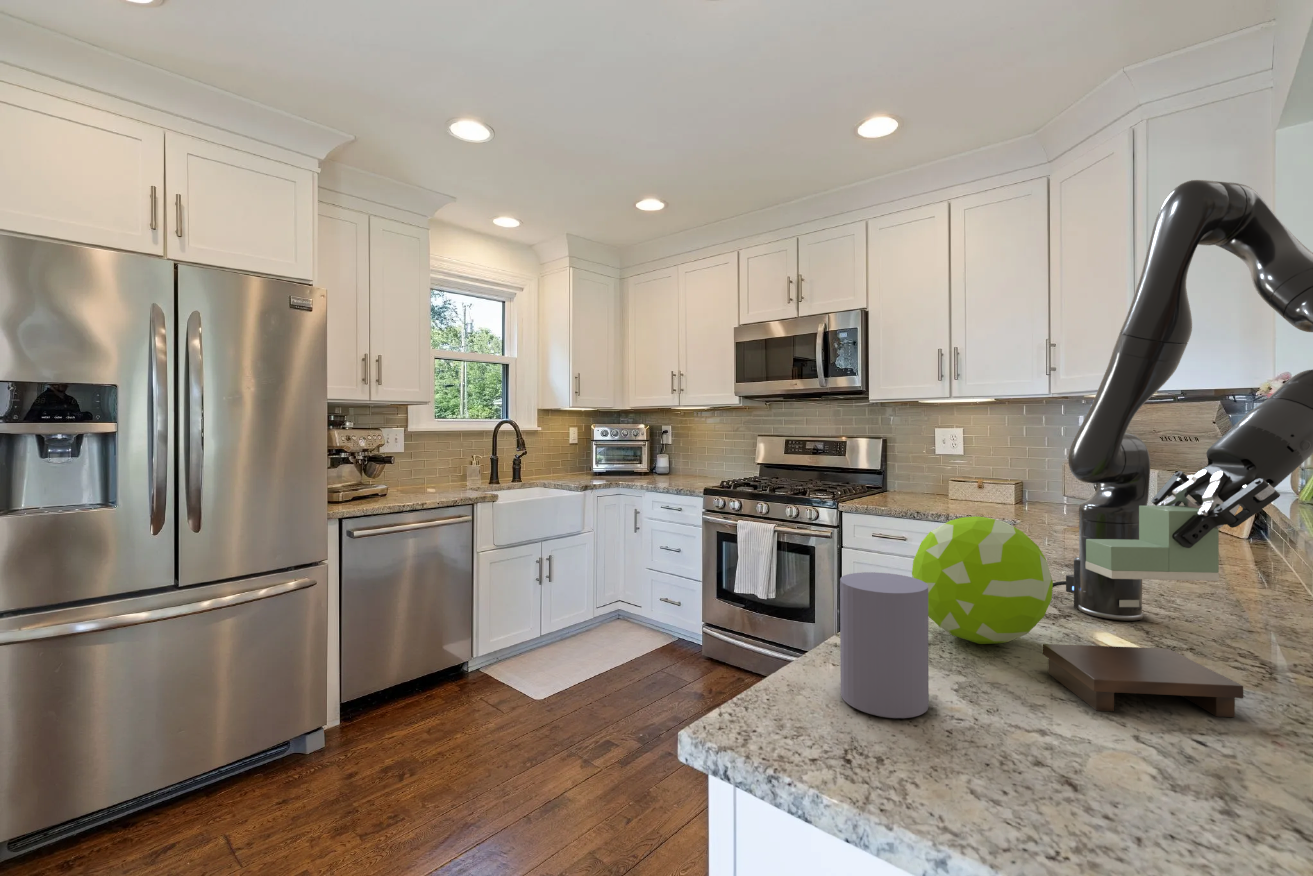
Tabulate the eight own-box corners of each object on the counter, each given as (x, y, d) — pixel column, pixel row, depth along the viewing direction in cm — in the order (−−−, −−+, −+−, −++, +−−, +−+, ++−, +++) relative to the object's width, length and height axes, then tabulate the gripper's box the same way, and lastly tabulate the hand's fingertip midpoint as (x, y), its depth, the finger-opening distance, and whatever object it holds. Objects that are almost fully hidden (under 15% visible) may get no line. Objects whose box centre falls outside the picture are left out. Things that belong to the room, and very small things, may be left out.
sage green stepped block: (1184, 570, 77) (1184, 505, 77) (1219, 581, 72) (1219, 511, 72) (1085, 568, 79) (1085, 505, 79) (1111, 578, 73) (1111, 510, 73)
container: (887, 728, 67) (887, 597, 67) (823, 693, 76) (822, 578, 76) (947, 708, 72) (947, 586, 72) (880, 677, 81) (879, 569, 81)
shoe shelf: (1094, 712, 71) (1094, 679, 71) (1042, 672, 83) (1042, 643, 82) (1243, 719, 69) (1243, 685, 69) (1168, 677, 80) (1168, 648, 80)
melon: (1074, 635, 97) (1074, 514, 97) (1025, 678, 80) (1025, 532, 80) (948, 609, 112) (948, 504, 112) (885, 640, 95) (885, 517, 95)
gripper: (1198, 423, 81) (1103, 510, 82) (1297, 421, 67) (1181, 526, 68) (1241, 462, 80) (1145, 548, 82) (1351, 468, 66) (1232, 573, 68)
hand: (1162, 538), depth 75 cm, fingers closed on sage green stepped block, 5 cm apart
